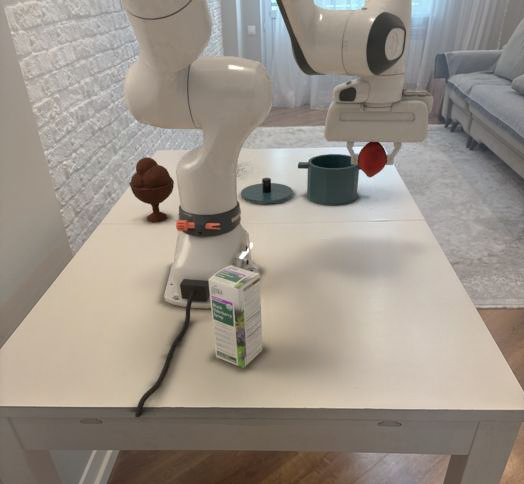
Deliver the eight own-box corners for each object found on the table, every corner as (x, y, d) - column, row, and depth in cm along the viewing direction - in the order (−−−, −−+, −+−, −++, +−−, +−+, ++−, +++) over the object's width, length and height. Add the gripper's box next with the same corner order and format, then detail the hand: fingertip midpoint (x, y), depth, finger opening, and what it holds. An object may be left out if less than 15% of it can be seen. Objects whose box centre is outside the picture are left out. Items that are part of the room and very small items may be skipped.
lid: (289, 206, 132) (289, 188, 129) (236, 204, 134) (235, 187, 131) (295, 187, 143) (295, 171, 140) (246, 186, 145) (245, 170, 142)
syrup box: (214, 357, 80) (205, 278, 71) (236, 339, 83) (230, 262, 75) (243, 369, 77) (237, 289, 68) (264, 350, 81) (261, 271, 72)
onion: (382, 173, 106) (387, 133, 101) (385, 181, 101) (391, 140, 96) (355, 173, 106) (359, 133, 101) (357, 181, 102) (361, 140, 97)
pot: (366, 206, 130) (370, 170, 124) (295, 204, 133) (295, 168, 127) (366, 189, 140) (369, 154, 135) (300, 187, 143) (300, 153, 137)
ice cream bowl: (128, 225, 125) (116, 164, 115) (149, 209, 133) (139, 151, 124) (166, 229, 122) (156, 167, 113) (185, 212, 130) (177, 153, 121)
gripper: (433, 86, 95) (421, 160, 103) (327, 87, 98) (323, 158, 106) (437, 92, 90) (424, 169, 98) (325, 92, 93) (321, 167, 101)
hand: (371, 164), depth 102 cm, fingers closed on onion, 6 cm apart
